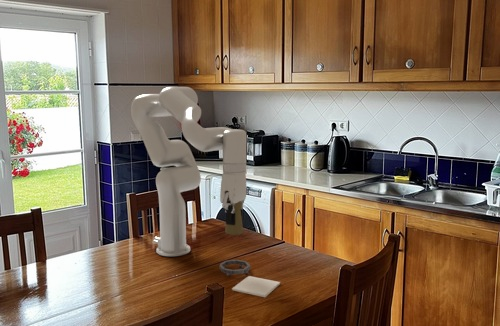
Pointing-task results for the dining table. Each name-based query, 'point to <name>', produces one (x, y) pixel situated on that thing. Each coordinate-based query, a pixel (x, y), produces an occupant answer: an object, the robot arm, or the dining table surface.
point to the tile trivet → (256, 286)
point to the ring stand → (229, 271)
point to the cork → (238, 226)
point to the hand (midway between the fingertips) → (234, 222)
